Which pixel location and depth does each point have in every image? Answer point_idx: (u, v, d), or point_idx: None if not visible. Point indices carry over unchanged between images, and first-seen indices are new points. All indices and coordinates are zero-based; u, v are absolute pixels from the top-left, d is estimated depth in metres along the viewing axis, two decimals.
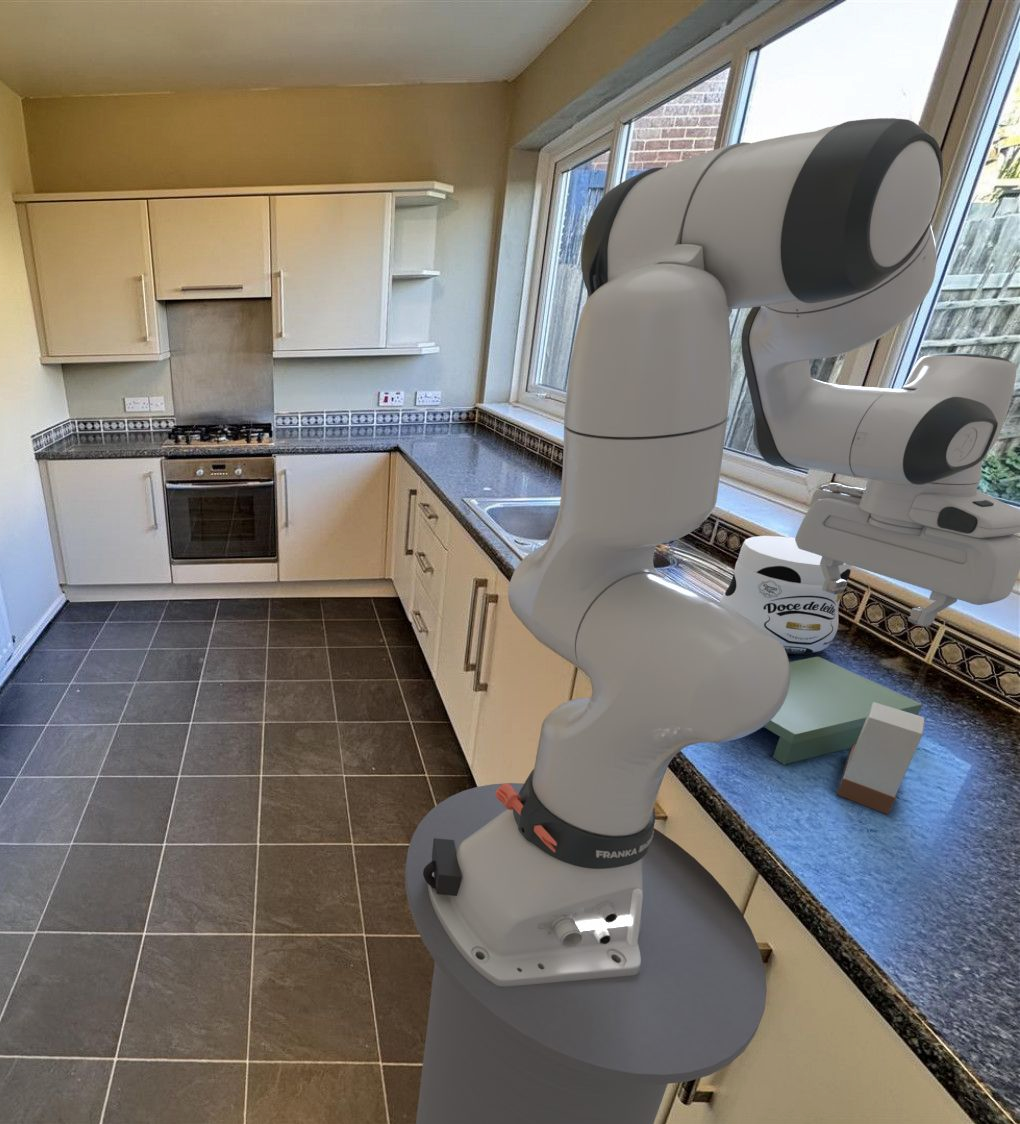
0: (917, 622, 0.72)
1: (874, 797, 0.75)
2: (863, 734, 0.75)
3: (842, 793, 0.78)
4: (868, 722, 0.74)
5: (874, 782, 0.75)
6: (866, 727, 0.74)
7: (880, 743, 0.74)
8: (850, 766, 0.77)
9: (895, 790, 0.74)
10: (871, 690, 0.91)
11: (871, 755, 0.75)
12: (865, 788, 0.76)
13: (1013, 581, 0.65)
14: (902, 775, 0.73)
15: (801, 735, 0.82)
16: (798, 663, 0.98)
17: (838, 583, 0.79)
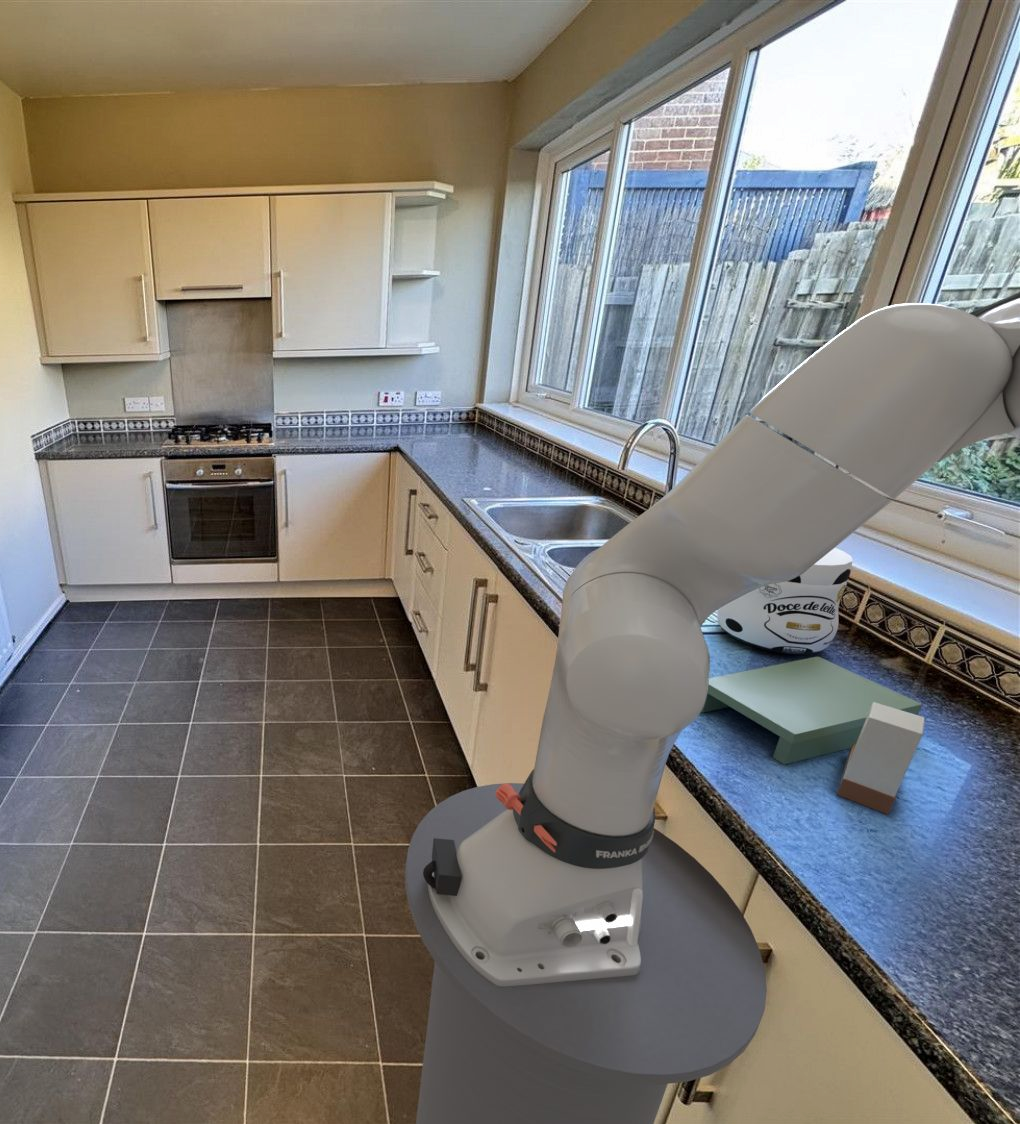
0: None
1: (874, 797, 0.75)
2: (863, 734, 0.75)
3: (842, 793, 0.78)
4: (868, 722, 0.74)
5: (874, 782, 0.75)
6: (866, 727, 0.74)
7: (880, 743, 0.74)
8: (850, 766, 0.77)
9: (895, 790, 0.74)
10: (871, 690, 0.91)
11: (871, 755, 0.75)
12: (865, 788, 0.76)
13: None
14: (902, 775, 0.73)
15: (801, 735, 0.82)
16: (798, 663, 0.98)
17: None
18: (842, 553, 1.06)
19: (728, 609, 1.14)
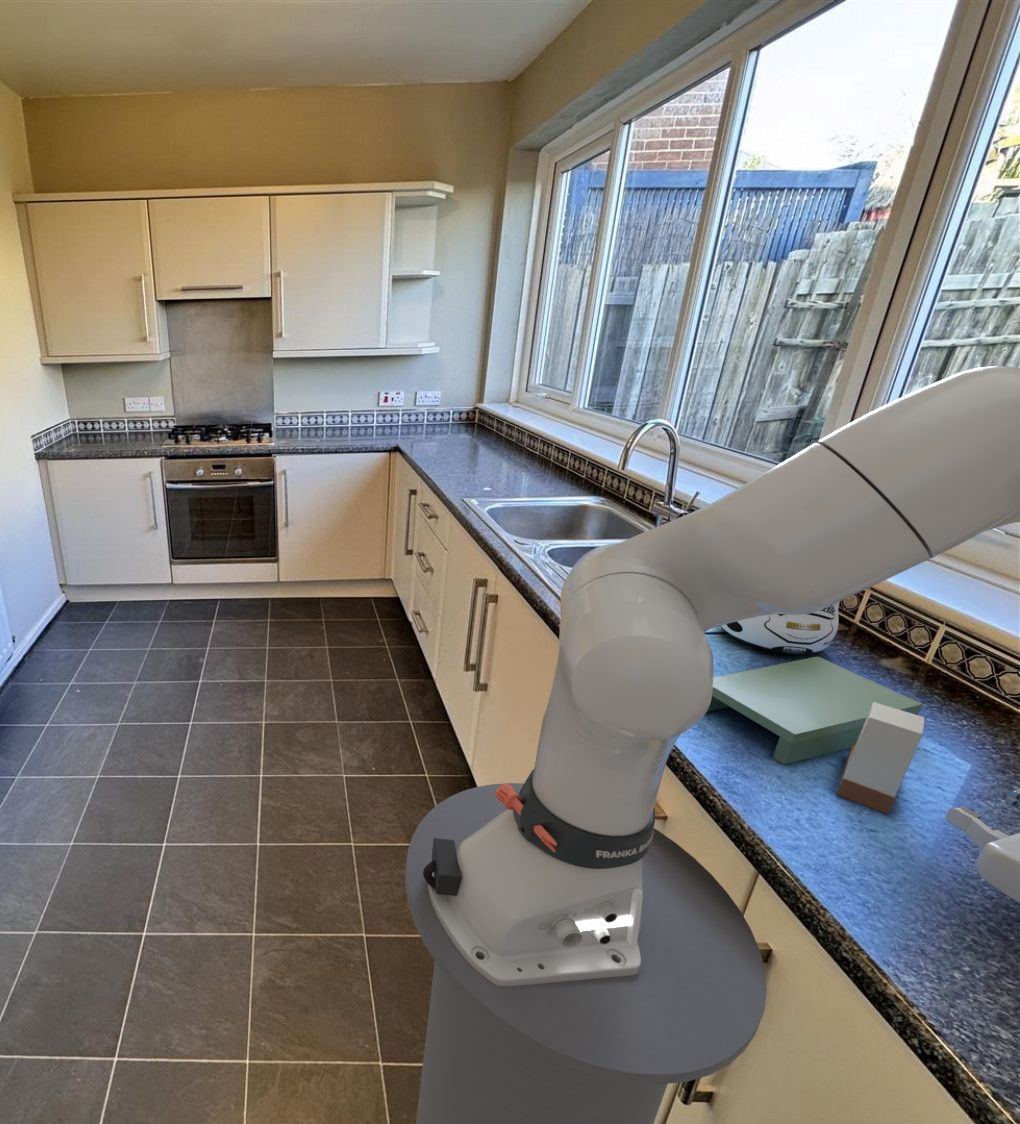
0: (958, 808, 0.65)
1: (874, 797, 0.75)
2: (863, 734, 0.75)
3: (842, 793, 0.78)
4: (868, 722, 0.74)
5: (874, 782, 0.75)
6: (866, 727, 0.74)
7: (880, 743, 0.74)
8: (850, 766, 0.77)
9: (895, 790, 0.74)
10: (871, 690, 0.91)
11: (871, 755, 0.75)
12: (865, 788, 0.76)
13: (1007, 888, 0.58)
14: (902, 775, 0.73)
15: (801, 735, 0.82)
16: (798, 663, 0.98)
17: None
18: None
19: None
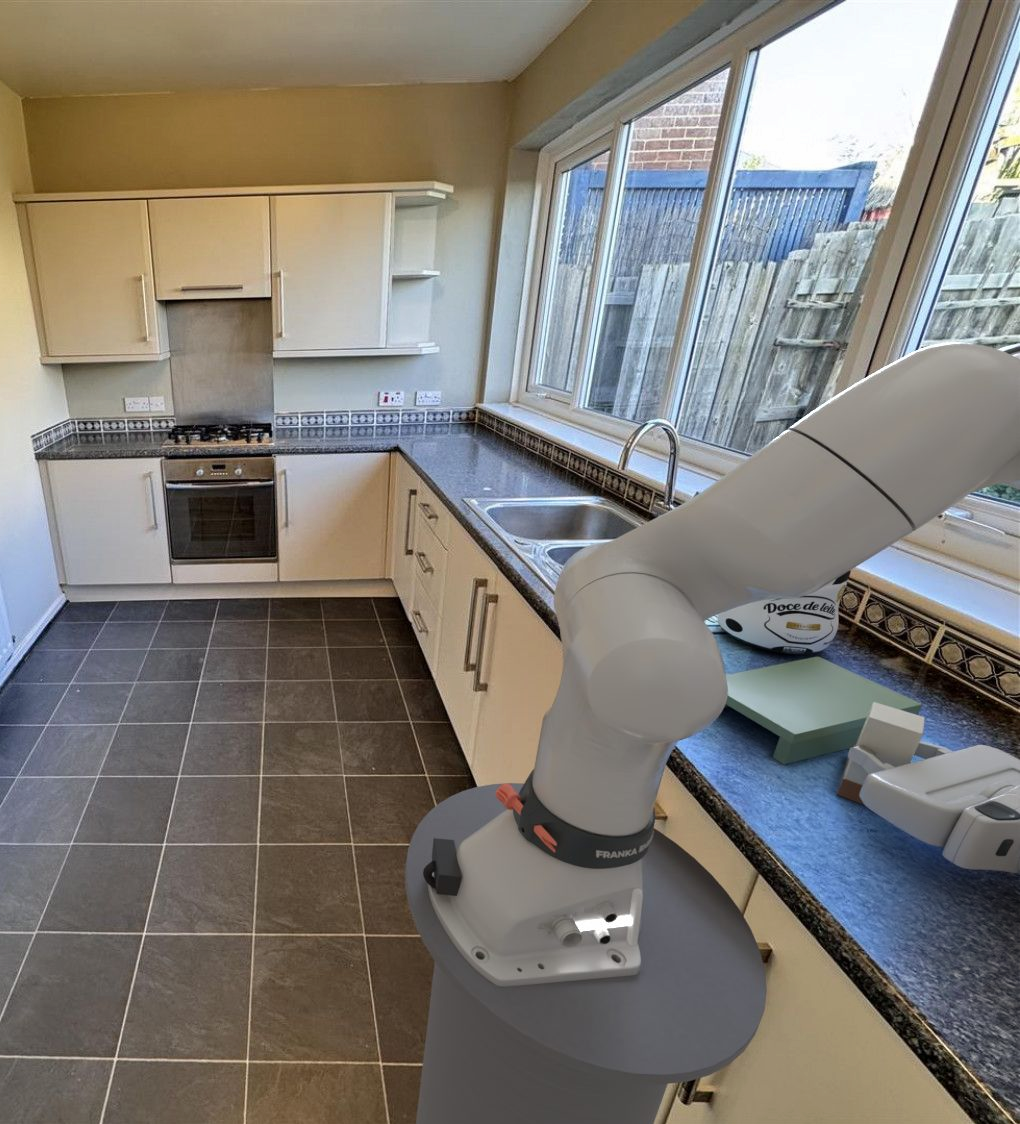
0: (857, 746, 0.75)
1: None
2: (863, 734, 0.75)
3: (842, 793, 0.78)
4: (868, 722, 0.74)
5: None
6: (866, 727, 0.74)
7: (880, 743, 0.74)
8: (850, 766, 0.77)
9: None
10: (871, 690, 0.91)
11: None
12: None
13: (883, 812, 0.68)
14: None
15: (801, 735, 0.82)
16: (798, 663, 0.98)
17: None
18: None
19: None
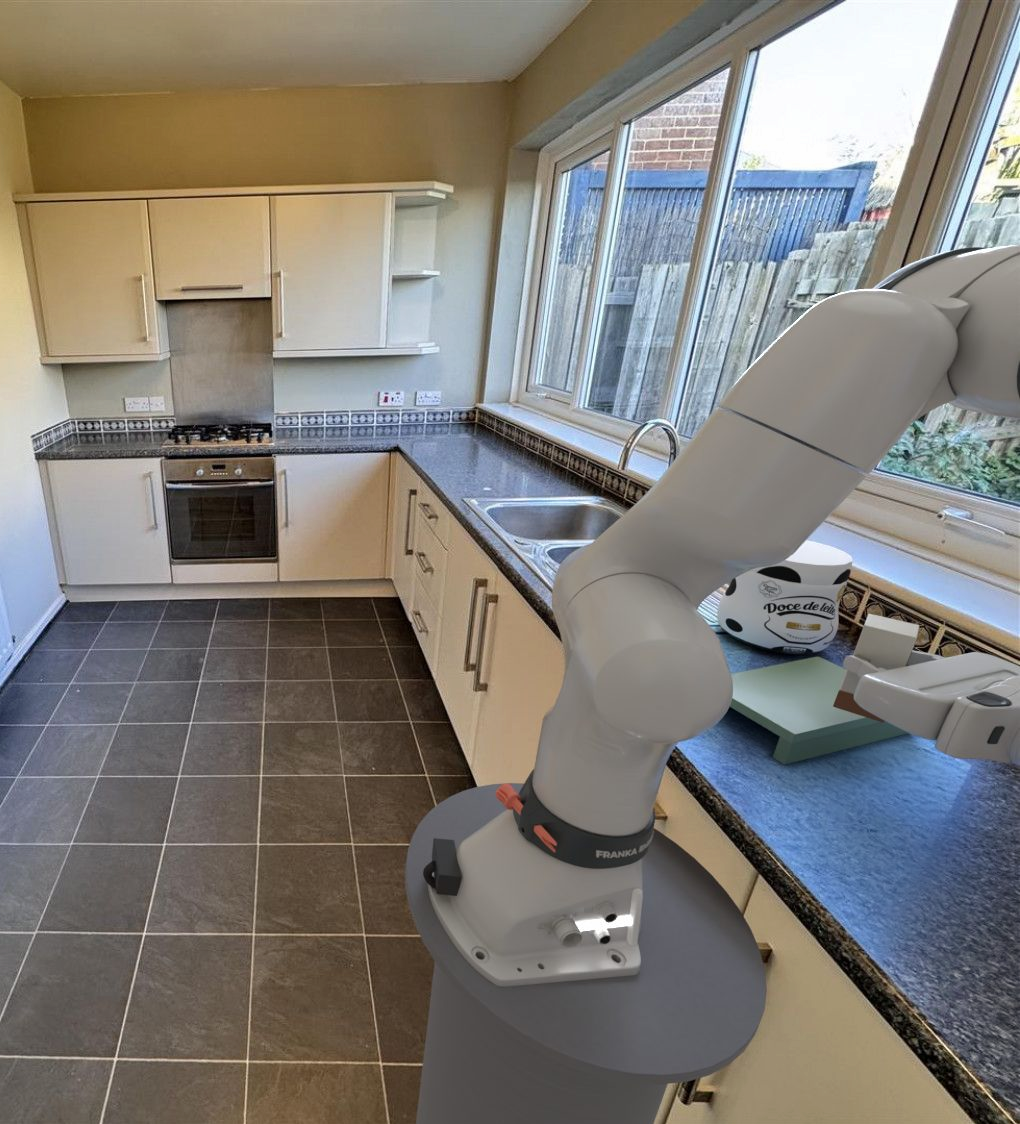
0: (852, 655, 0.76)
1: None
2: (858, 643, 0.76)
3: (838, 705, 0.79)
4: (863, 630, 0.75)
5: None
6: (861, 635, 0.75)
7: (875, 651, 0.75)
8: (846, 677, 0.77)
9: None
10: None
11: None
12: None
13: (876, 710, 0.69)
14: None
15: (801, 735, 0.82)
16: (798, 663, 0.98)
17: None
18: (842, 553, 1.06)
19: (728, 609, 1.14)
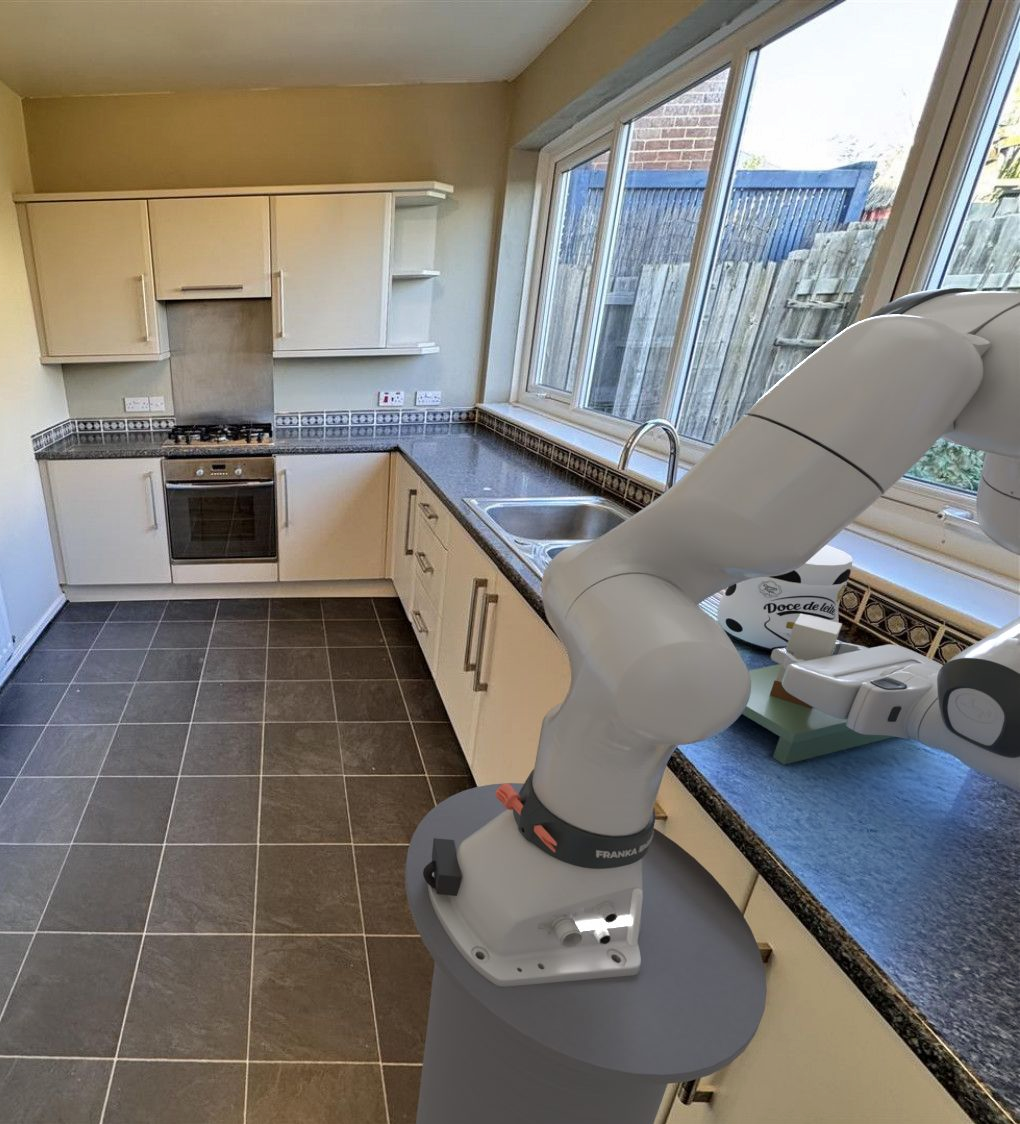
0: (778, 648, 0.86)
1: None
2: (790, 639, 0.87)
3: (774, 693, 0.90)
4: (793, 628, 0.86)
5: None
6: (792, 632, 0.86)
7: (803, 646, 0.86)
8: (780, 668, 0.88)
9: None
10: None
11: (797, 656, 0.87)
12: None
13: (799, 694, 0.80)
14: None
15: (801, 735, 0.82)
16: None
17: None
18: (842, 553, 1.06)
19: (728, 609, 1.14)
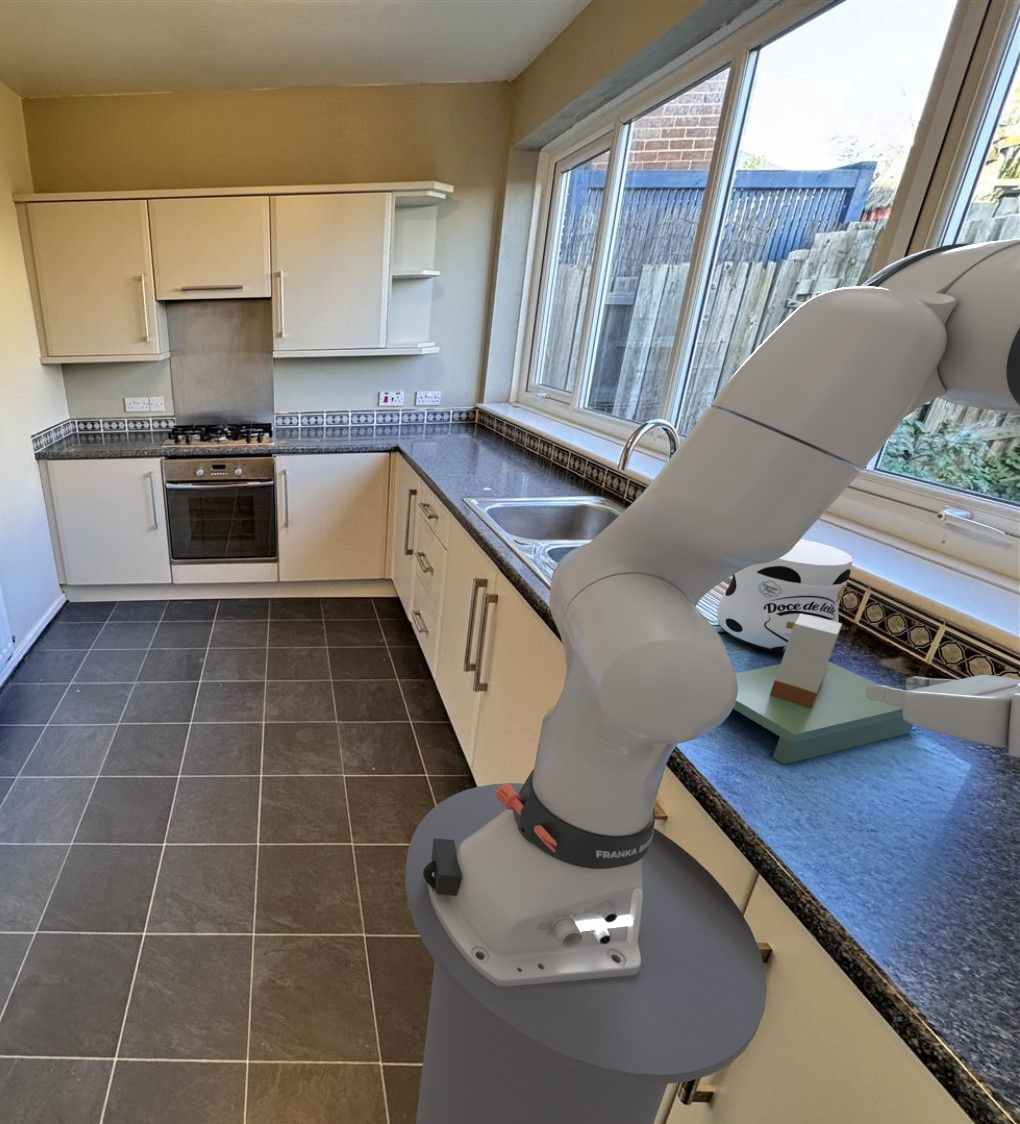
0: None
1: (800, 694, 0.87)
2: (790, 639, 0.87)
3: (774, 693, 0.90)
4: (793, 628, 0.86)
5: (799, 681, 0.87)
6: (792, 632, 0.86)
7: (803, 646, 0.86)
8: (780, 668, 0.88)
9: (816, 686, 0.86)
10: None
11: (797, 656, 0.87)
12: (792, 687, 0.88)
13: (934, 724, 0.64)
14: (822, 672, 0.85)
15: (801, 735, 0.82)
16: None
17: (923, 681, 0.75)
18: (842, 553, 1.06)
19: (728, 609, 1.14)
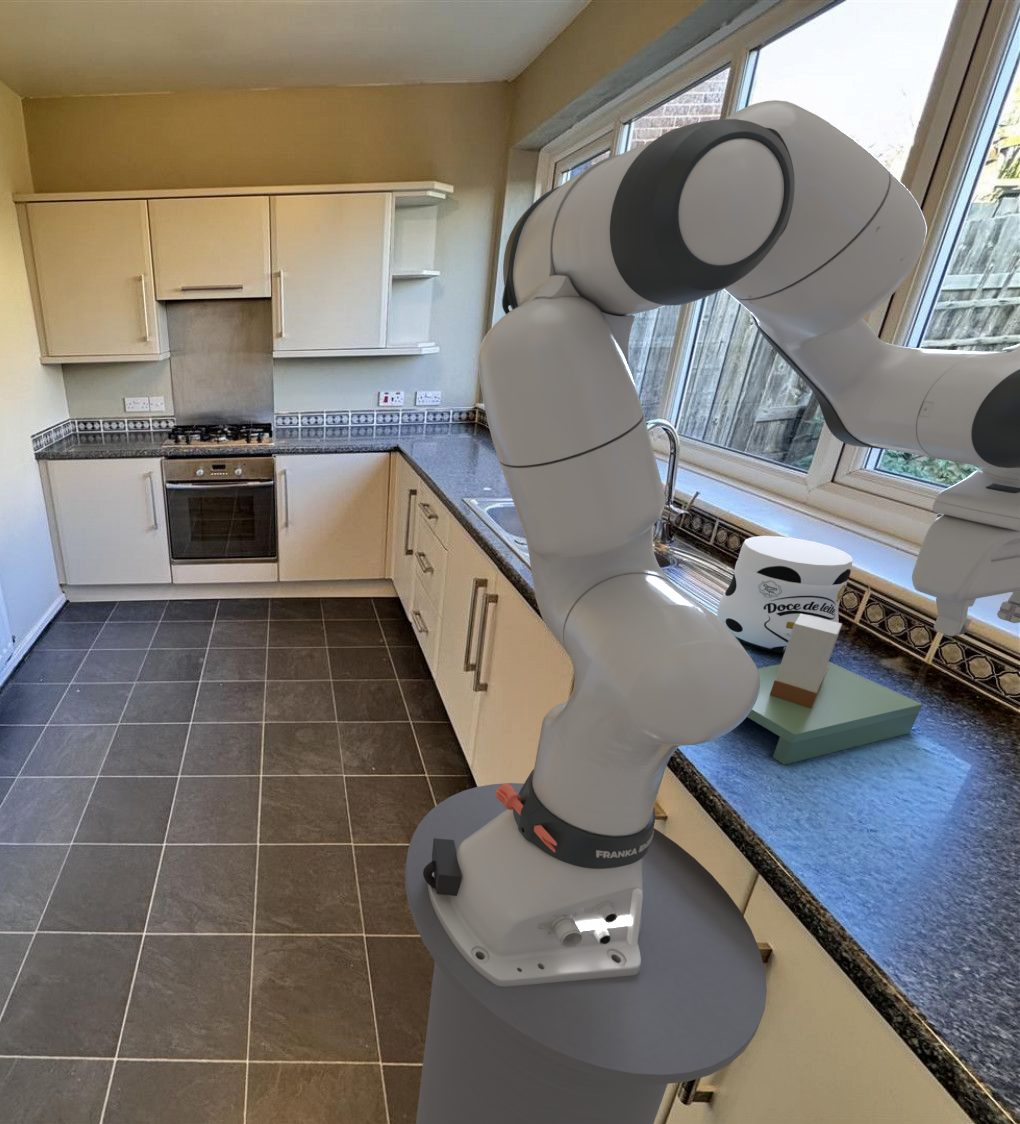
0: None
1: (800, 694, 0.87)
2: (790, 639, 0.87)
3: (774, 693, 0.90)
4: (793, 628, 0.86)
5: (799, 681, 0.87)
6: (792, 632, 0.86)
7: (803, 646, 0.86)
8: (780, 668, 0.88)
9: (816, 686, 0.86)
10: (871, 690, 0.91)
11: (797, 656, 0.87)
12: (792, 687, 0.88)
13: (956, 575, 0.56)
14: (822, 672, 0.85)
15: (801, 735, 0.82)
16: None
17: (1005, 604, 0.64)
18: (842, 553, 1.06)
19: (728, 609, 1.14)
